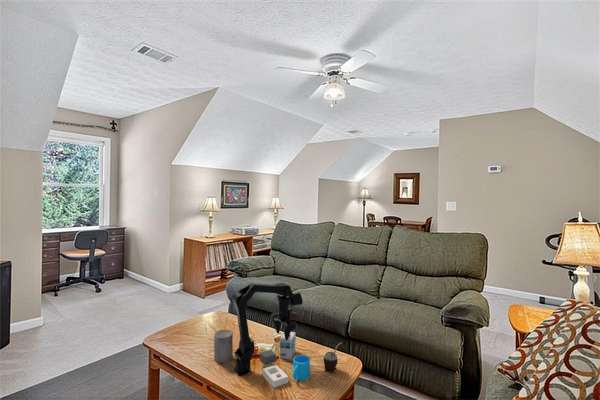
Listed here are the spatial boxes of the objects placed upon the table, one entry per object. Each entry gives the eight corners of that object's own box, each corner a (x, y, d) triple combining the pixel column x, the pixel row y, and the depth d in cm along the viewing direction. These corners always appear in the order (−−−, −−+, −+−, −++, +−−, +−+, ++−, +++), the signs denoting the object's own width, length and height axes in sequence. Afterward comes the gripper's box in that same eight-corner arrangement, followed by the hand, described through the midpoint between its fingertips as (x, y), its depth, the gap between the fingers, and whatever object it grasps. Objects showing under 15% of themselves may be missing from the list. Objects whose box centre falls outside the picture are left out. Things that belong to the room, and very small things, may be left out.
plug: (264, 370, 158) (264, 357, 158) (259, 365, 163) (260, 352, 163) (275, 366, 162) (275, 354, 162) (270, 362, 166) (270, 349, 166)
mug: (297, 369, 160) (298, 353, 160) (312, 374, 156) (312, 357, 156) (286, 381, 149) (286, 364, 149) (301, 386, 145) (301, 369, 145)
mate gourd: (321, 367, 161) (321, 338, 161) (334, 364, 165) (334, 336, 165) (328, 375, 155) (328, 345, 154) (341, 372, 158) (342, 342, 158)
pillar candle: (223, 352, 176) (223, 325, 176) (236, 357, 171) (236, 329, 171) (210, 360, 168) (210, 332, 167) (223, 365, 163) (223, 336, 162)
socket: (273, 387, 144) (273, 379, 144) (262, 375, 154) (262, 367, 154) (288, 382, 148) (288, 375, 148) (275, 370, 158) (275, 363, 158)
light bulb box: (291, 360, 169) (291, 340, 169) (279, 358, 170) (279, 338, 170) (295, 350, 179) (295, 331, 179) (284, 349, 181) (284, 330, 181)
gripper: (305, 310, 165) (304, 340, 165) (287, 300, 181) (286, 327, 181) (287, 314, 159) (286, 344, 159) (270, 303, 175) (269, 331, 175)
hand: (282, 336), depth 168 cm, fingers open, 9 cm apart
